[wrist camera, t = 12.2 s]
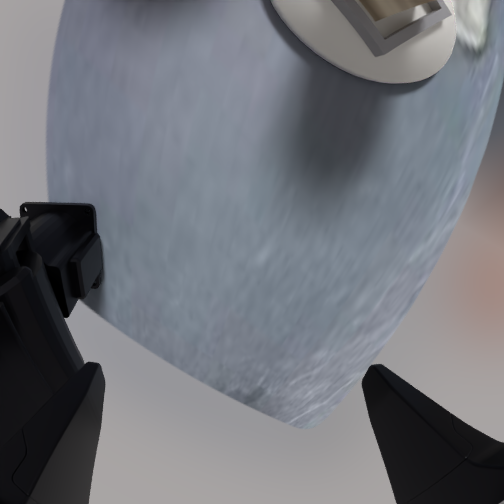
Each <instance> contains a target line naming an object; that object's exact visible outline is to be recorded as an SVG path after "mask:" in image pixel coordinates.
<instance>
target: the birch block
mask: <svg viewBox="0 0 504 504" xmlns="http://www.w3.org/2000/svg"><path fill="white" fill-rule="evenodd" d="M359 1H360V2H361V3H362V5H363V6H364V7H365V9H366V10H367V11H368V12H369V14H370V15H371V16H372V18H373V19H374V21H375V22H376V21H378V20H381V19H383V18H386V17H388V16H391V15H393V14H396V13H399V12H401V11H404V10H407V9H410V8H413V7H416V6H419V5H422V4H425V3H428V2H431V1H434V0H359Z"/></svg>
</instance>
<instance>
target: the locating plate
mask: <svg viewBox="0 0 504 504" xmlns="http://www.w3.org/2000/svg"><path fill="white" fill-rule="evenodd" d="M270 1H271V3H272V5H273V7H274V8H275V10H276V12H277V13H278V15H279V16H280V18H281V19H282V20H283V22H284V23H285V24H286V25H287V27H288V28H289V29H290V30H291V31H292V32H293V33H294V34H295V35H296V36H297V37H298V38H299V40H300V41H301V42H303V43H304V44H305V45H306V46H307V47H308V48H310V49H311V50H312V51H313V52H314V53H316V54H317V55H319V56H320V57H322V58H323V59H324V60H326V61H327V62H329V63H331V64H332V65H334V66H336V67H338V68H339V69H341V70H343V71H346V72H348V73H350V74H352V75H354V76H357V77H360V78H363V79H366V80H370V81H375V82H379V83H389V84H394V83H411V82H417V81H421V80H423V79H426V78H429V77H430V76H432V75H434V74H435V73H437V72H438V71H439V70H440V69H441V68H442V67H443V66H444V65H445V63H446V62H447V61H448V59H449V57H450V55H451V53H452V51H453V47H454V44H455V38H456V18H455V12H454V8H453V4H452V1H451V0H434V1H431V2H428V3H425V4H422V5H419V6H416V7H413V8H410V9H407V10H404V11H401V12H399V13H396V14H393V15H391V16H388V17H386V18H383V19H381V20H378V21H376V22H375V21H374V19H373V18H372V16H371V15H370V14H369V12H368V11H367V10H366V9H365V7H364V6H363V5H362V3H361V2H360V1H359V0H270Z"/></svg>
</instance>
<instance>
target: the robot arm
mask: <svg viewBox="0 0 504 504" xmlns="http://www.w3.org/2000/svg"><path fill="white" fill-rule="evenodd" d="M25 207H26V209H27V212H26V211H25ZM86 209H89V210H90V214H87V213H86ZM101 269H102V257H101V244H100V236H99V235H98V233H97V232H96V211H95V208H94V206H93V205H92V204H85V203H52V202H25V203H23V204H22V205H21V206H20V218H11V216H8V215H7V214H6V213H5V212H4V211H3V210H2V209H0V504H89V496H90V489H91V482H92V475H93V468H94V462H95V457H96V451H97V445H98V441H99V435H100V430H101V423H102V411H103V402H104V392H105V378H104V375H103V372H102V368H101V365H100V364H99V363H94V362H87V363H86V364H84V361H83V358H82V356H81V354H80V352H79V350H78V348H77V346H76V344H75V342H74V339H73V337H72V335H71V333H70V331H69V328H68V326H67V324H66V322H65V319H64V318H68V317H69V315H70V314H71V312H72V310H73V308H74V306H75V304H76V303H77V301H78V299H84V298H85V297H86V296H87V294H88V292H89V290H90V288H93V289H96V288H98V287H99V285H100V283H101V277H100V270H101ZM94 281H96V283H94ZM362 388H363V393H364V397H365V401H366V406H367V410H368V414H369V418H370V422H371V425H372V428H373V430H374V434H375V436H376V440H377V443H378V446H379V449H380V452H381V455H382V458H383V461H384V464H385V467H386V470H387V474H388V477H389V480H390V483H391V486H392V490H393V493H394V497H395V500H396V503H397V504H504V443H503V442H499V441H497V440H495V439H493V438H491V437H489V436H487V435H486V434H484V433H482V432H480V431H478V430H476V429H475V428H473V427H471V426H470V425H468V424H466V423H465V422H463V421H462V420H460V419H459V418H457V417H456V416H455V415H453V414H451V413H450V412H449V411H447V410H446V409H444V408H443V407H442V406H440V405H439V404H437V403H436V402H434V401H433V400H432V399H430V398H429V397H427V396H426V395H424V394H423V393H422V392H420V391H419V390H417V389H416V388H414V387H413V386H412V385H410V384H409V383H407V382H406V381H405V380H403V379H402V378H400V377H399V376H398V375H396V374H395V373H393V372H392V371H391V370H389V369H388V368H386V367H385V366H383V365H382V364H374V365H371V366H370V367H369V368H368V370H367V372H366V374H365V376H364V378H363V379H362Z"/></svg>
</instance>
